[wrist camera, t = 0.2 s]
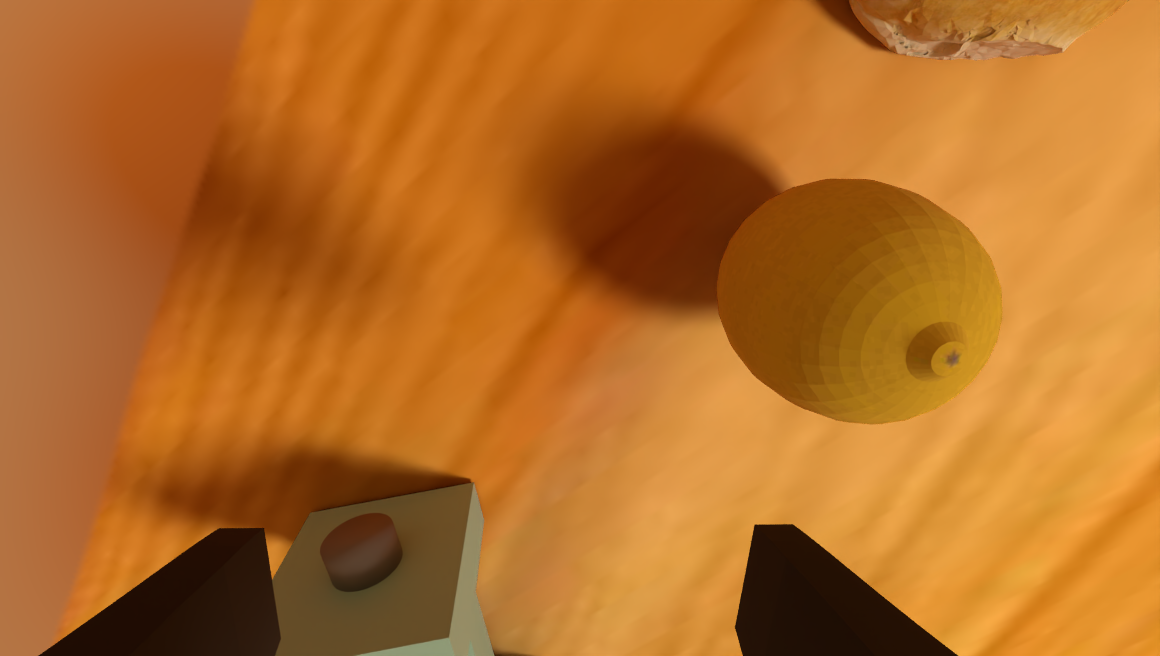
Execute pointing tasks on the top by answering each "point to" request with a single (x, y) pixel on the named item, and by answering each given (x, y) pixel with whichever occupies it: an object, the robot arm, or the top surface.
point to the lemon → (859, 300)
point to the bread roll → (980, 25)
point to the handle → (386, 579)
